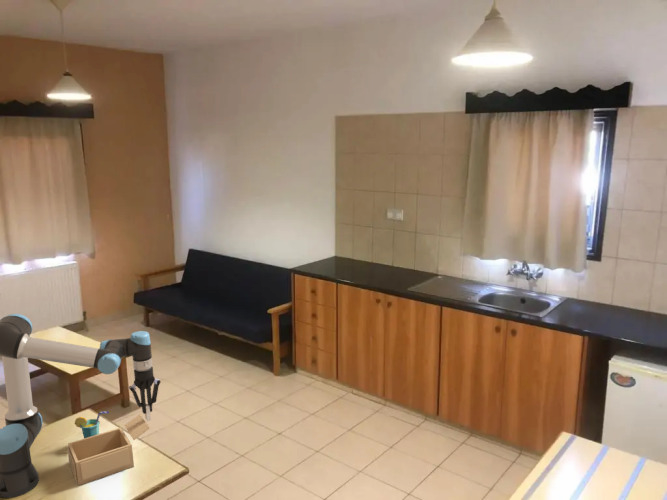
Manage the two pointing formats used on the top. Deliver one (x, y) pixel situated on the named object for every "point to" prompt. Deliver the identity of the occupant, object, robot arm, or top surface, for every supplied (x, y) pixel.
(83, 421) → the cup
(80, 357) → the robot arm
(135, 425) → the flap
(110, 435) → the open wooden box
